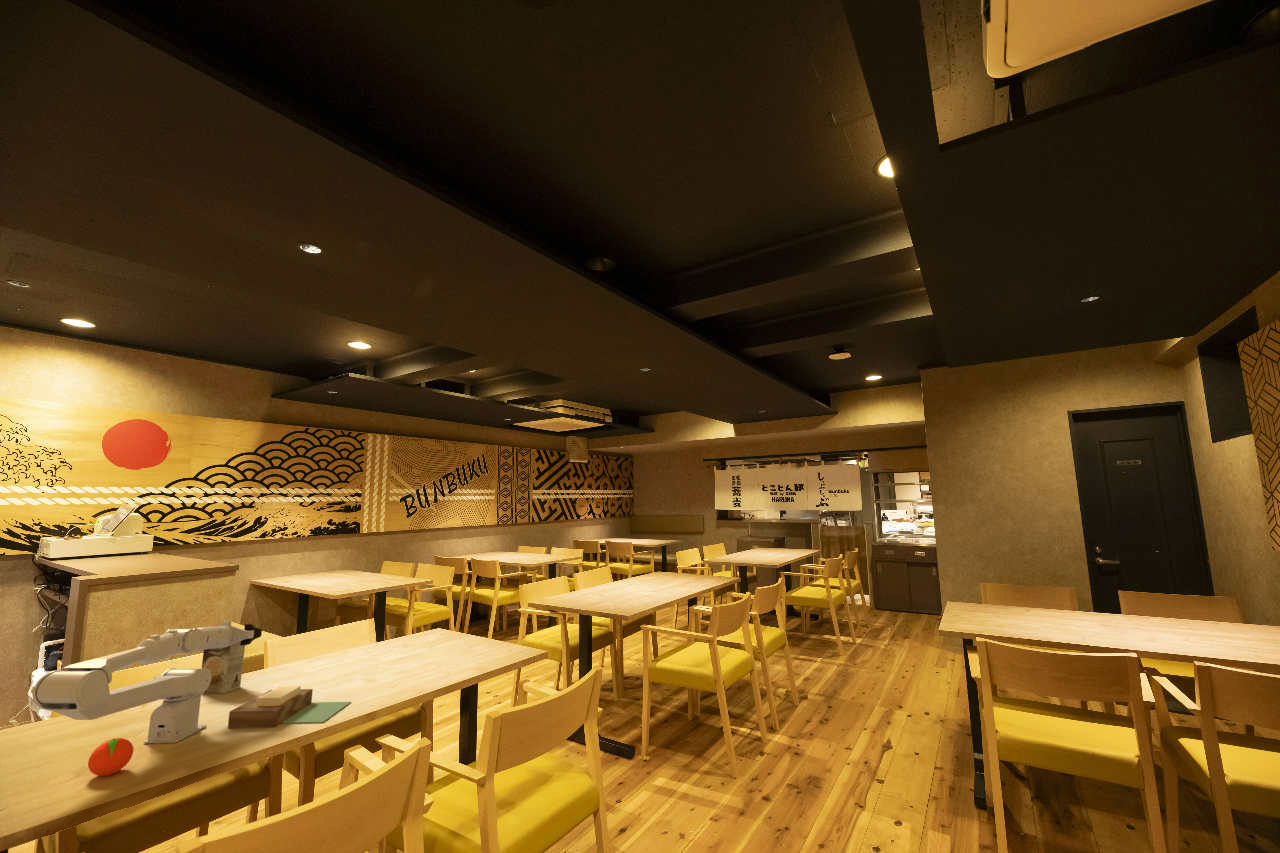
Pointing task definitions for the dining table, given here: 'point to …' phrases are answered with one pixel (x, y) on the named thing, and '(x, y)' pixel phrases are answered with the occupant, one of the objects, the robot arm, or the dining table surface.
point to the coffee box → (224, 667)
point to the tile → (278, 696)
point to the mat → (316, 712)
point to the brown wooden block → (268, 711)
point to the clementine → (110, 756)
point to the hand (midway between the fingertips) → (247, 633)
